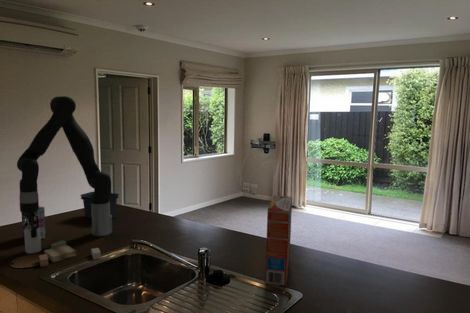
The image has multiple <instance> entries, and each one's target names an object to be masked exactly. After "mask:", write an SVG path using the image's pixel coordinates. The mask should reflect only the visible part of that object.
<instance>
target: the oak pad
mask: <svg viewBox="0 0 470 313" xmlns="http://www.w3.org/2000/svg"><path fill="white" fill-rule="evenodd" d="M44 254H47V256H48V258H49V259H50V260H51V263H56V262H60V261H64V260H67V259H71V258H73V257H77V250H76V249H74V248H72V247H71V246H69V245H67V244H66V245H63V246H60V247H56V248H52V249H51V248H49V249H45V250H43V255H44ZM49 259H48V260H49ZM50 260H49V261H50Z"/></svg>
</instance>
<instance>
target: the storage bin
mask: <svg viewBox="0 0 470 313" xmlns="http://www.w3.org/2000/svg"><path fill="white" fill-rule="evenodd" d="M119 195H120V194H119V193H115V192H111V197H110V215H111V216H112V219H113V218H115V217H116V216H117V200H118V199H119V198H120V197H119ZM79 196H80V200H82V203H83V210H84V218H86V219H87V218H88V219H92V213H91V198H92V197H93V196H94V191H89V192H87V193H86V192H85V193H82V194H80V195H79Z"/></svg>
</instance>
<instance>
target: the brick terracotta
mask: <svg viewBox="0 0 470 313" xmlns="http://www.w3.org/2000/svg"><path fill="white" fill-rule="evenodd" d="M38 260H39V266H40V267H46V266H49V259H48V256H47V254H44V253H43V254H39V255H38Z"/></svg>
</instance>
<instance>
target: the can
mask: <svg viewBox="0 0 470 313" xmlns="http://www.w3.org/2000/svg"><path fill="white" fill-rule="evenodd" d="M34 227H35V225H34ZM24 237H25V238H24V248H25V249H24V250H25V253H26V254H28V255H29V254H31V255H32V254H37V253H40V252H41V251H42V239H41V235H40V228H38V229H37V237H35V238H32V237H31V229H30V226H29V225H28V226H26V227H25V230H24Z"/></svg>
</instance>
